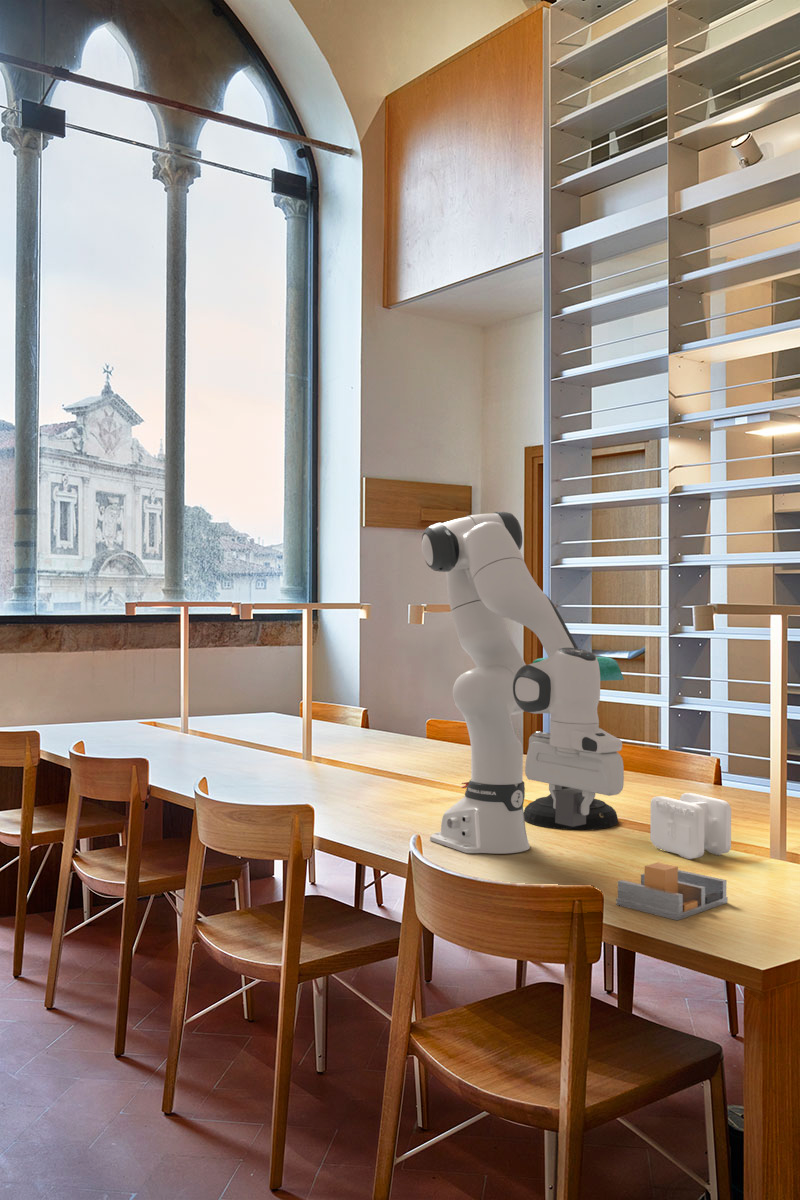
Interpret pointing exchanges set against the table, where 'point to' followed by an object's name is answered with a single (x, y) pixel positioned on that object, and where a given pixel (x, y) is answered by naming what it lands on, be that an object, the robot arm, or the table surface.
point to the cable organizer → (691, 825)
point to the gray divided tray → (674, 896)
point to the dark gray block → (569, 807)
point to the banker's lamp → (599, 811)
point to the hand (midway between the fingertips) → (571, 811)
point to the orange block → (662, 877)
